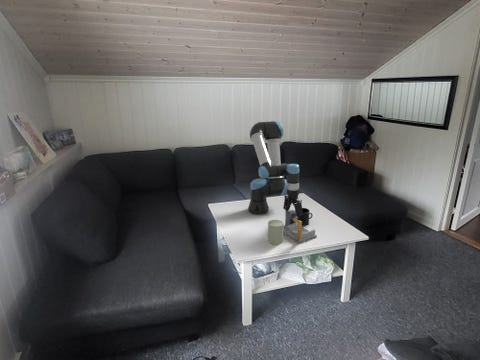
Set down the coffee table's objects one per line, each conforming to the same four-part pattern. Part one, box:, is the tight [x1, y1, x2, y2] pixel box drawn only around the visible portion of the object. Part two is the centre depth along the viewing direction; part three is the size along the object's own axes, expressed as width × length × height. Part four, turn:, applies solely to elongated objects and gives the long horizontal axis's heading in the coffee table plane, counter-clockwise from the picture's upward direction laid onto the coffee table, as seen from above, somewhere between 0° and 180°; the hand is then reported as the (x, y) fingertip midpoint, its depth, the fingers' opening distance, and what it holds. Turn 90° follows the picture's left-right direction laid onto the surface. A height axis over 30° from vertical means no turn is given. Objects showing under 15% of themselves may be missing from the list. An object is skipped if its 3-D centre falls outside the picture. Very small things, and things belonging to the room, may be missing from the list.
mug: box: [298, 207, 313, 227], centre depth 195 cm, size 9×12×9 cm
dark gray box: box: [284, 209, 297, 227], centre depth 190 cm, size 5×6×10 cm
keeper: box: [283, 218, 318, 244], centre depth 178 cm, size 16×14×14 cm
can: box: [267, 219, 285, 246], centre depth 172 cm, size 9×9×12 cm
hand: (292, 222), depth 189 cm, fingers open, 9 cm apart
